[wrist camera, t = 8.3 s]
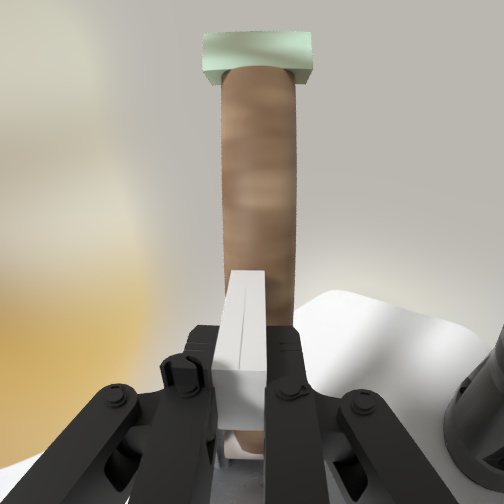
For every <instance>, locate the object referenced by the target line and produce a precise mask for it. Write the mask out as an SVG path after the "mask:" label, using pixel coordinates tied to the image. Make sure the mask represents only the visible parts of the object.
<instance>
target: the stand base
mask: <svg viewBox="0 0 504 504" xmlns="http://www.w3.org/2000/svg"><path fill="white" fill-rule="evenodd" d="M224 435H225V429H218V423H217V430H216V437H217V448H216V456H215V464H214V472H213V480H212V488H211V496H210V504H263V466H264V460H254V459H229V458H225V454H224ZM324 464H325V471H326V479H327V486H328V493H329V501H330V504H346V502H345V500H344V498H343V496H342V494H341V492H340V490H339V488H338V486H337V484H336V481H335V479H334V477H333V475H332V473H331V471H330V469H329V467H328V465H327V463H326V460H324Z"/></svg>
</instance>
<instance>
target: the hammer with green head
mask: <svg viewBox="0 0 504 504" xmlns="http://www.w3.org/2000/svg"><path fill="white" fill-rule="evenodd" d="M312 62H313V61H312V43H311V33H309V32H290V31H289V32H288V31H249V32H226V33H212V34H203V62H202V71H203V73H204V74H205V75H206V77H207V78H208V80H209V81H210V83H211V84H212V85H221V144H222V147H221V148H222V200H223V201H222V205H223V243H224V273H225V297H226V294H227V289H228V284H229V279H230V275H231V270H248V271H265V310H266V326H293V312H294V286H295V253H296V187H297V185H296V184H297V177H296V174H297V165H296V164H297V163H296V162H297V155H296V154H297V153H296V93H295V84H306V83H307V80H308V78H309V76H310V74H311V72H312V70H313V63H312ZM263 449H264V431H249V430H225V435H224V454H225V458H229V459H254V460H264V456H263Z"/></svg>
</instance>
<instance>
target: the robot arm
mask: <svg viewBox="0 0 504 504" xmlns="http://www.w3.org/2000/svg"><path fill="white" fill-rule="evenodd" d="M160 370H161V375H162V379H163V383H164V389H162V390H160V391H156V392H152V393H144V394H137V393H136V391H135V390H134V389H133V388H132V387H130V386H128V385H126V384H111V385H108V386H106V387H104V388H102V389H101V390H100V391H99V392H97V394H96V395H95V396H94V397H93V398H92V399H91V400H90V401H89V403H88V404H87V405H86V406H85V407H84V408H83V409H82V410H81V411H80V413H79V414H78V415H77V416H76V417H75V418H74V419H73V420H72V421H71V423H70V424H69V425H68V426H67V427H66V428H65V429H64V430H63V432H62V433H61V434H60V435H59V436H58V437H57V438H56V439H55V441H54V442H53V443H52V444H51V445H50V446H49V447H48V449H47V450H46V451H45V452H44V453H43V454H42V455H41V456H40V458H39V459H38V460H37V461H36V462H35V463H34V465H33V466H32V467H31V468H30V469H29V470H28V471H27V473H26V474H25V475H24V476H23V477H22V478H21V480H20V481H19V482H18V483H17V484H16V485H15V487H14V488H13V489H12V490H11V491H10V492H9V494H8V495H7V496H6V497H5V498H4V499H3V501H2V502H1V503H0V504H125V502H126V501H127V499H128V498H129V496H130V498H129V501H128V504H210V496H211V488H212V480H213V472H214V464H215V456H216V448H217V437H216V430H217V423H218V429H225V430H249V431H264V449H263V456H264V466H263V504H330V501H329V493H328V486H327V479H326V471H325V464H324V460H326V463H327V465H328V467H329V469H330V471H331V473H332V475H333V477H334V479H335V481H336V484H337V486H338V488H339V490H340V492H341V494H342V496H343V498H344V500H345V502H346V504H459V503H458V502H457V501H456V499H455V498H454V496H453V495H452V493H451V492H450V491H449V489H448V488H447V486H446V485H445V483H444V482H443V481H442V479H441V478H440V476H439V475H438V474H437V472H436V471H435V469H434V468H433V467H432V465H431V464H430V462H429V461H428V460H427V458H426V457H425V455H424V454H423V453H422V451H421V450H420V448H419V447H418V446H417V444H416V443H415V442H414V440H413V439H412V437H411V436H410V435H409V433H408V432H407V430H406V429H405V428H404V426H403V425H402V424H401V422H400V421H399V419H398V418H397V417H396V415H395V414H394V413H393V411H392V410H391V409H390V407H389V406H388V404H387V403H386V402H385V400H384V399H383V398H382V397H381V396H380V395H379V394H377V393H375V392H373V391H371V390H365V389H358V390H352V391H350V392H348V393H346V394H345V395H344V396H343V397H342V398H341V399H340V398H334V397H329V396H325V395H322V394H320V393H318V392H316V391H315V390H313V389H312V387H311V385H310V384H308V381H307V377H306V371H305V365H304V359H303V353H302V347H301V341H300V335H299V333H298V332H297V330H296V329H295V328H294V327H293V326H266V310H265V271H248V270H231V275H230V279H229V284H228V289H227V294H226V299H225V303H224V308H223V313H222V318H221V323H220V326H211V325H197V326H196V327H195V328H194V329H193V330H192V331H191V332H190V333H189V336H188V339H187V343H186V345H185V349H184V351H183V353H180V354H175V355H172V356H169V357H168V358H166V359H165V360H163V362H162V363H161V365H160ZM444 437H445V441H446V445H447V448H448V450H449V452H450V455H451V456H452V458H453V460H454V462H455V463H456V464H457V466H458V467H459V468H460V469H461V471H462V472H463V473H464V474H465V475H466V476H468V477H469V478H470V479H471V480H473V481H474V482H476V483H477V484H479V485H481V486H483V487H485V488H488V489H491V490H495V491H500V492H504V326H503V328H502V331H501V334H500V336H499V338H498V341H497V343H496V345H495V347H494V349H493V350H492V351H491V352H490V353H489V354H488V356H487V357H486V358H485V359H484V360H483V361H482V362H481V363H480V364H479V365H478V367H477V368H476V369H475V370H474V371H473V372H472V373H471V374H470V375H469V376H468V377H467V378H466V379H465V380H464V381H463V382H462V383H461V385H460V386H459V388H458V389H457V391H456V392H455V394H454V396H453V398H452V400H451V402H450V404H449V406H448V408H447V411H446V414H445V418H444Z"/></svg>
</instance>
